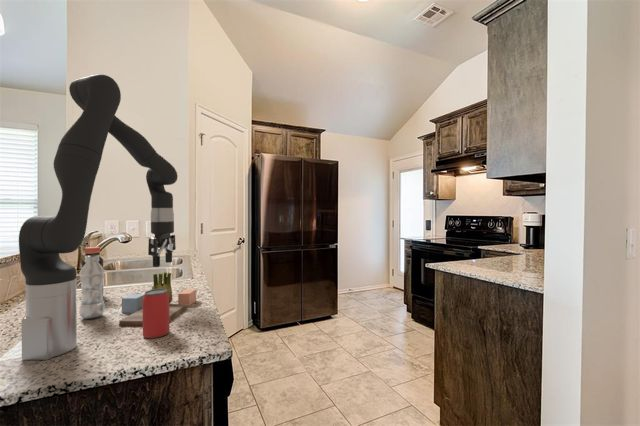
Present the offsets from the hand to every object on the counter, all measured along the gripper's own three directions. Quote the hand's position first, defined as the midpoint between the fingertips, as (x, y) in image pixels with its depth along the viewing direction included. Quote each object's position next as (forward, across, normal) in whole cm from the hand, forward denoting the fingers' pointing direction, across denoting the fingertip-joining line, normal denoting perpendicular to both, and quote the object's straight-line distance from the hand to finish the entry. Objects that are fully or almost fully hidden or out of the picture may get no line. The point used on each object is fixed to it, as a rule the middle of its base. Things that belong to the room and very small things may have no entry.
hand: (162, 264), depth 109 cm
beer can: (+15, -26, -12) cm, 33 cm away
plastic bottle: (+15, -13, +16) cm, 26 cm away
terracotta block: (+15, +2, -8) cm, 17 cm away
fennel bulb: (+15, 0, 0) cm, 15 cm away
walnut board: (+15, -12, -4) cm, 20 cm away
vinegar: (+15, +9, +33) cm, 37 cm away
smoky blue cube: (+15, -6, +7) cm, 18 cm away
